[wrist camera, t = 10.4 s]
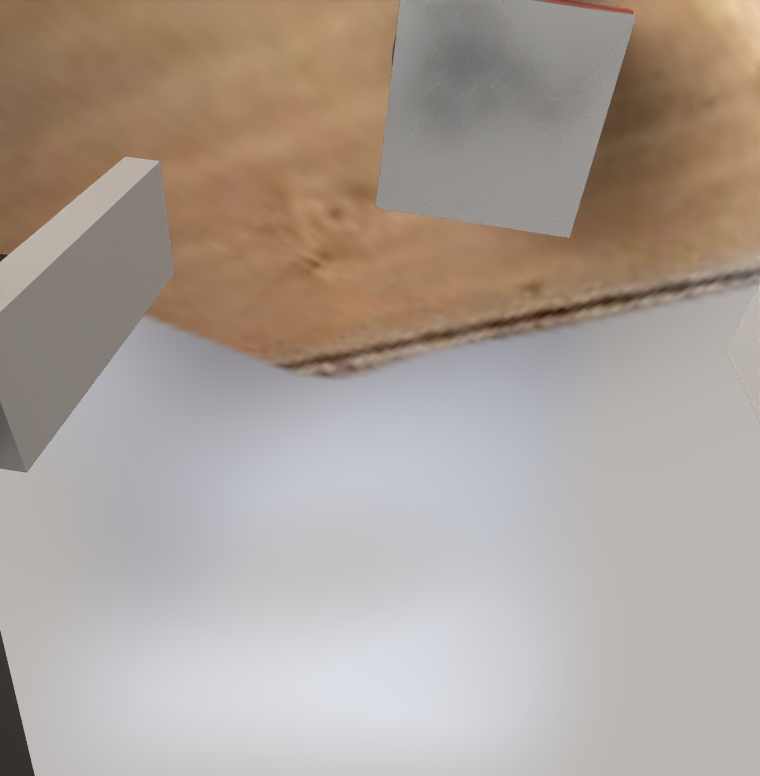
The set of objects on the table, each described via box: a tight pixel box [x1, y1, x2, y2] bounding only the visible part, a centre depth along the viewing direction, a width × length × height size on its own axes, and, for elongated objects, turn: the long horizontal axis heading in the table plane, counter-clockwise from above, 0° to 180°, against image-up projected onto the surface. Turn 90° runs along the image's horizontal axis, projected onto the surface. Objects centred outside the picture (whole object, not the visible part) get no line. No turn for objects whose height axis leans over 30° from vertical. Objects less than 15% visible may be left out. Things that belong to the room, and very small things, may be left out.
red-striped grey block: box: [376, 0, 636, 238], centre depth 24 cm, size 6×6×10 cm
